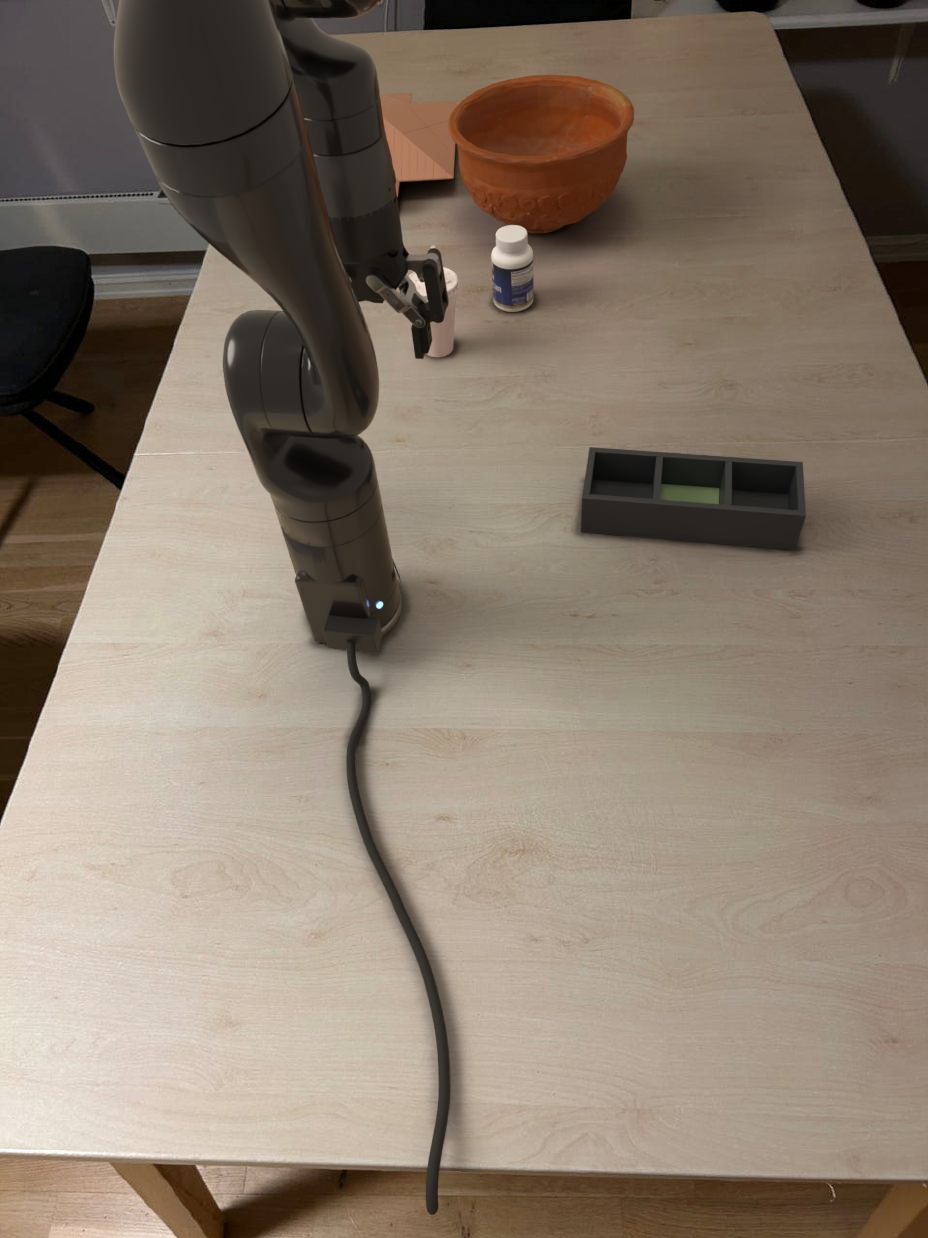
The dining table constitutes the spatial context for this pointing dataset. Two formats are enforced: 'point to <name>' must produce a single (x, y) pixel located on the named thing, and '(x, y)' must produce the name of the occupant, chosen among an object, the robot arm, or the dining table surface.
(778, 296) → the dining table surface
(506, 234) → the pill bottle
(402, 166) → the house
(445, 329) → the smoothie
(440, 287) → the robot arm
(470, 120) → the bowl
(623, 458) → the rack
